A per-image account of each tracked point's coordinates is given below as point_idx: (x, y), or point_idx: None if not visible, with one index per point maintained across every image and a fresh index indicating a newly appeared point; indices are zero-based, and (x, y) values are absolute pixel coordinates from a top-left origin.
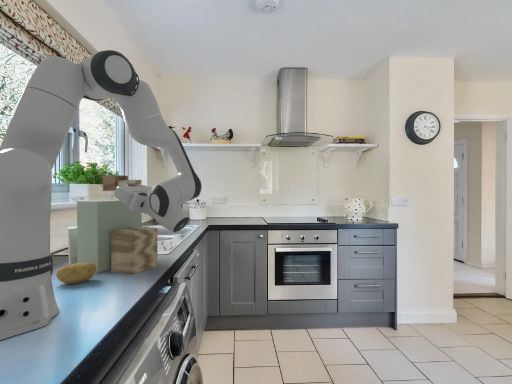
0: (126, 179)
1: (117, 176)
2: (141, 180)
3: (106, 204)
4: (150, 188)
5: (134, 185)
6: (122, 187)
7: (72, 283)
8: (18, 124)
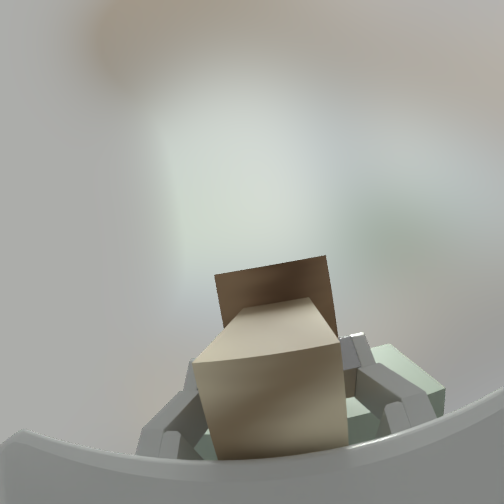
0: (317, 285)
1: (237, 280)
2: (340, 348)
3: (200, 448)
4: (460, 473)
5: (216, 436)
6: (19, 457)
7: None
8: None
